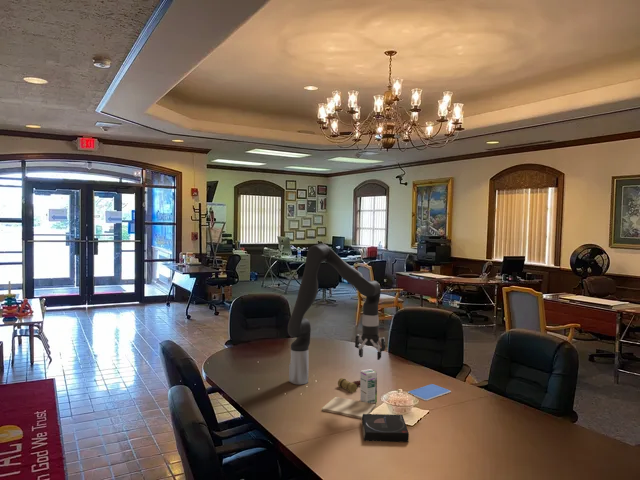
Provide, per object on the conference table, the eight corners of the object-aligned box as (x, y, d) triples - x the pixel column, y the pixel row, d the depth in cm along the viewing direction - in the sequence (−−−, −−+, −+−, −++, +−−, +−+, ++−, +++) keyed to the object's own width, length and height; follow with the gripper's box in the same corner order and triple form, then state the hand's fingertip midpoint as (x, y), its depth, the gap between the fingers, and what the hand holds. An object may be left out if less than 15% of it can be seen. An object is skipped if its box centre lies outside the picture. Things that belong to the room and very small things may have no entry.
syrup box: (366, 404, 211) (367, 373, 210) (359, 400, 216) (360, 369, 215) (377, 402, 213) (377, 371, 213) (369, 398, 218) (370, 368, 218)
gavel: (368, 373, 245) (381, 378, 237) (367, 381, 245) (380, 387, 237) (337, 378, 232) (350, 384, 224) (337, 387, 232) (349, 393, 224)
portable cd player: (361, 423, 193) (361, 413, 193) (402, 424, 192) (402, 414, 192) (363, 442, 176) (364, 432, 176) (408, 443, 176) (408, 433, 176)
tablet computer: (425, 402, 215) (426, 399, 215) (405, 394, 225) (406, 391, 225) (451, 393, 227) (452, 390, 227) (431, 385, 237) (431, 383, 237)
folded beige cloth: (321, 410, 204) (321, 408, 204) (335, 398, 217) (335, 396, 217) (364, 419, 195) (364, 417, 195) (375, 406, 209) (375, 404, 209)
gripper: (353, 323, 213) (352, 358, 214) (382, 327, 207) (382, 362, 208) (358, 320, 220) (358, 354, 221) (387, 323, 214) (387, 358, 215)
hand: (370, 358), depth 214 cm, fingers open, 8 cm apart
